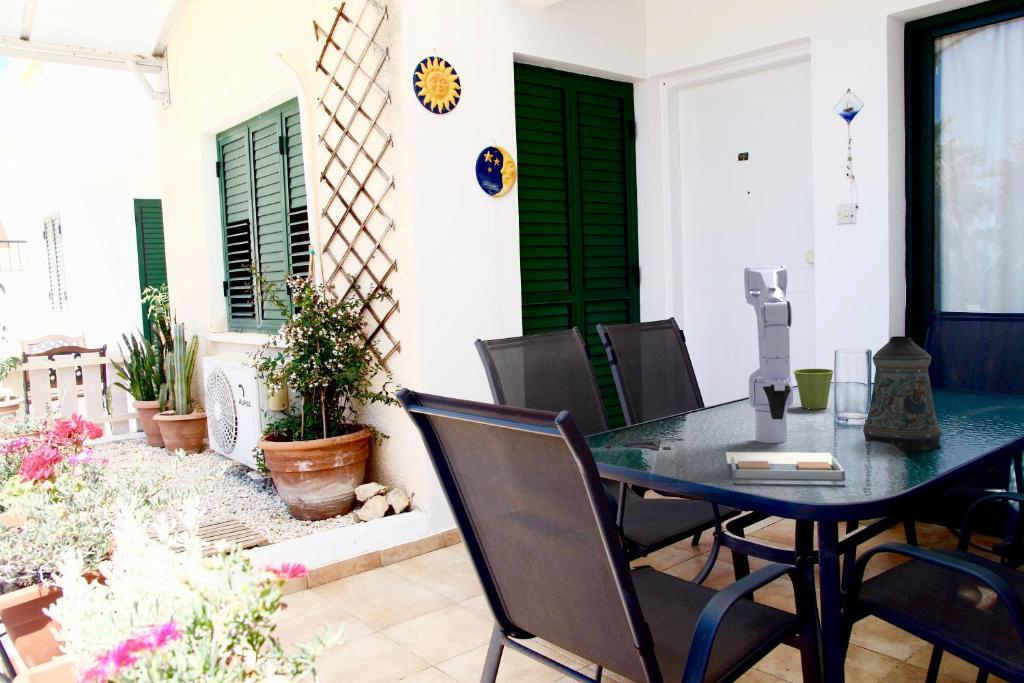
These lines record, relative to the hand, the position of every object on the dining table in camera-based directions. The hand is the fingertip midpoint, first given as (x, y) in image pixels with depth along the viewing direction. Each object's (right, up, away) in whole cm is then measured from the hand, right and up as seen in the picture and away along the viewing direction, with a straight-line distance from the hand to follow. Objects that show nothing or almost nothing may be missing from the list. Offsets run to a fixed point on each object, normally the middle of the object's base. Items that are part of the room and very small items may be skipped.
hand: (777, 418), depth 175 cm
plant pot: (+33, -3, +66) cm, 74 cm away
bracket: (-22, -10, +17) cm, 30 cm away
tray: (-3, -11, -14) cm, 18 cm away
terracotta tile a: (-8, -10, -10) cm, 17 cm away
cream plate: (0, -10, -3) cm, 10 cm away
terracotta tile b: (+3, -10, -13) cm, 17 cm away
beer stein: (+33, -7, +14) cm, 37 cm away
